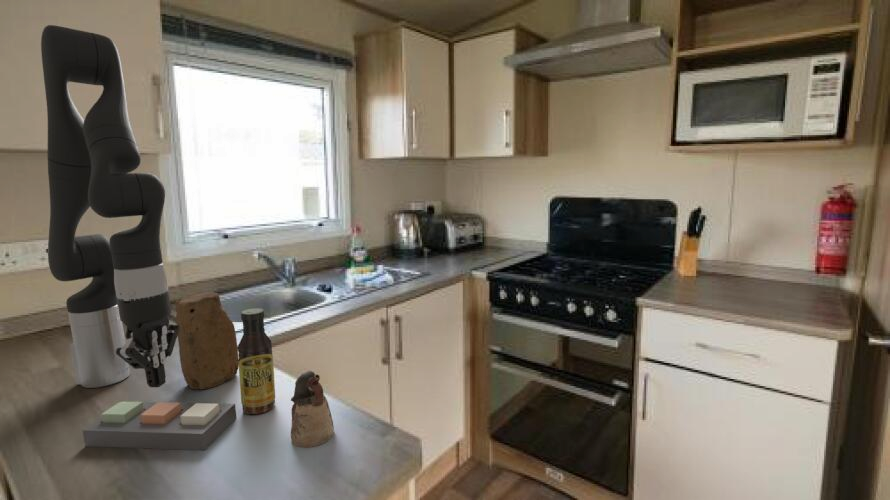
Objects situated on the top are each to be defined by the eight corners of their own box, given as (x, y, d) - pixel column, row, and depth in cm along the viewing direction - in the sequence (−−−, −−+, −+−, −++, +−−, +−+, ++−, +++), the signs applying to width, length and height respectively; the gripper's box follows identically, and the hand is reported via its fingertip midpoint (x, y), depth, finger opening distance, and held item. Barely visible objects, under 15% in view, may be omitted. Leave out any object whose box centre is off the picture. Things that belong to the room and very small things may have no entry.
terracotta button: (142, 425, 82) (140, 414, 82) (159, 412, 86) (158, 402, 86) (165, 426, 82) (163, 415, 81) (181, 412, 86) (180, 402, 86)
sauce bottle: (243, 419, 88) (231, 318, 84) (241, 405, 93) (229, 309, 90) (280, 410, 91) (270, 312, 87) (275, 397, 96) (265, 304, 93)
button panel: (85, 446, 81) (82, 430, 80) (129, 415, 91) (126, 401, 90) (204, 450, 78) (202, 433, 78) (236, 418, 88) (234, 403, 88)
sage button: (103, 424, 83) (101, 414, 83) (122, 411, 87) (120, 401, 87) (125, 424, 82) (124, 414, 82) (144, 411, 87) (142, 402, 86)
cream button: (181, 426, 81) (180, 415, 81) (197, 413, 86) (196, 403, 85) (205, 427, 81) (204, 416, 81) (220, 413, 85) (218, 403, 85)
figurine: (318, 420, 87) (312, 360, 84) (342, 433, 82) (337, 369, 80) (283, 438, 81) (277, 374, 79) (307, 453, 77) (301, 385, 75)
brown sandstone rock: (192, 395, 98) (179, 303, 94) (181, 384, 103) (169, 297, 100) (244, 377, 105) (234, 292, 102) (231, 368, 111) (221, 287, 107)
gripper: (150, 281, 87) (163, 369, 90) (90, 302, 74) (107, 403, 77) (188, 281, 86) (199, 369, 89) (134, 302, 73) (150, 404, 76)
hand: (157, 385), depth 83 cm, fingers closed
